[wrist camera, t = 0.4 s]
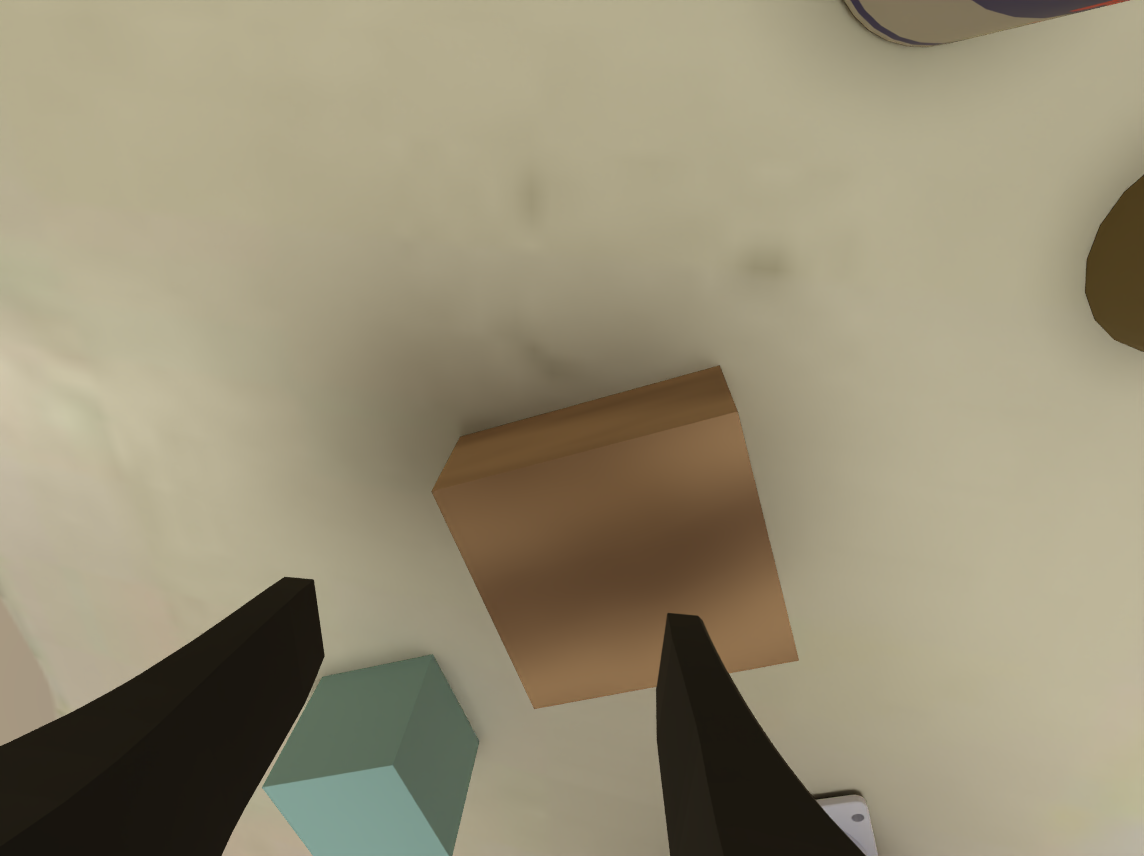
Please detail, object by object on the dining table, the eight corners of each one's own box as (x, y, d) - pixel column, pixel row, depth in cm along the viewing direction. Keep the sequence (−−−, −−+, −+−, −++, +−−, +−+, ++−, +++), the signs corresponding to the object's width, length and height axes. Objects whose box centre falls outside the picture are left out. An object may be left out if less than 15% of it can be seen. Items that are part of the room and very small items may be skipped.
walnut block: (773, 581, 24) (798, 660, 21) (546, 628, 26) (534, 708, 23) (718, 361, 21) (737, 411, 17) (462, 433, 23) (431, 491, 19)
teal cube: (479, 740, 29) (451, 859, 24) (374, 757, 30) (328, 876, 25) (433, 653, 27) (392, 765, 22) (323, 675, 28) (262, 787, 23)
